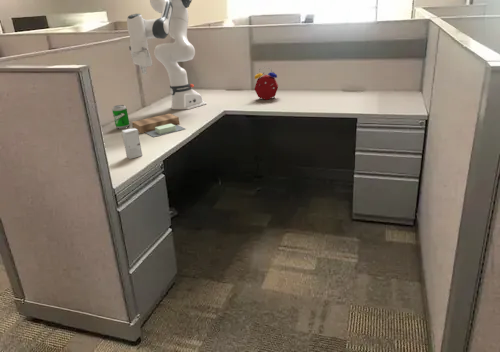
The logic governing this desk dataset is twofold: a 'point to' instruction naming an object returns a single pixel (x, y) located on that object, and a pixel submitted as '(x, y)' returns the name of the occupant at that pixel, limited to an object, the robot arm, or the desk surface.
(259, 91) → the alarm clock
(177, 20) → the robot arm
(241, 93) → the desk surface
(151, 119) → the brown wooden flat block
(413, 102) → the desk surface
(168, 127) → the mint green box
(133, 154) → the skincare box
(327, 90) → the desk surface
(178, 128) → the mat
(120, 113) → the soda can
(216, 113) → the desk surface
